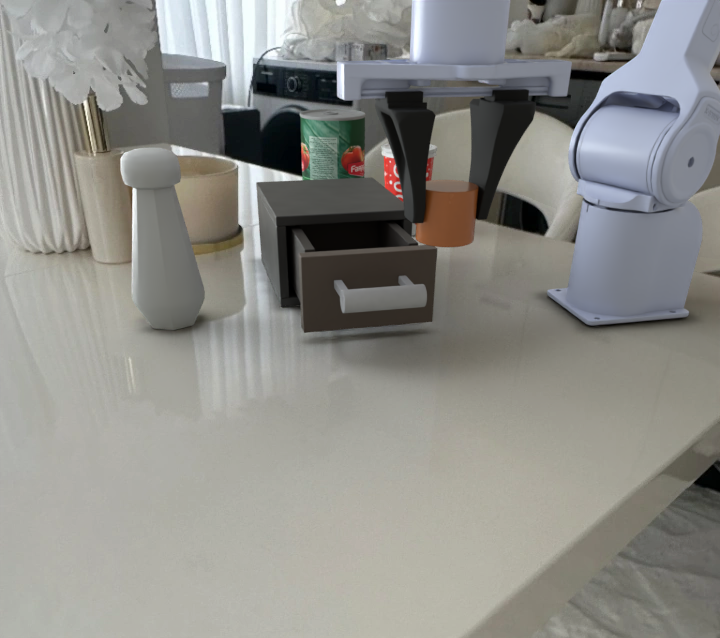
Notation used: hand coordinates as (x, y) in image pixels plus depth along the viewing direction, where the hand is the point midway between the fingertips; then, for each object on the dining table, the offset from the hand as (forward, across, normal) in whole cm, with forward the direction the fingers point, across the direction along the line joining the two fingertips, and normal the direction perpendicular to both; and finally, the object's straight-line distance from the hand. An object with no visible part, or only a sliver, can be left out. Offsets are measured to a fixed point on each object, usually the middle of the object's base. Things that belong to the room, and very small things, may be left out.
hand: (445, 218), depth 48 cm
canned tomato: (+10, +2, +46) cm, 47 cm away
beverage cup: (+10, +8, +34) cm, 36 cm away
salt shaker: (+10, -19, +11) cm, 24 cm away
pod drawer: (+9, -4, +8) cm, 13 cm away
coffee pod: (+1, 0, 0) cm, 1 cm away
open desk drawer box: (+10, -4, +19) cm, 22 cm away
